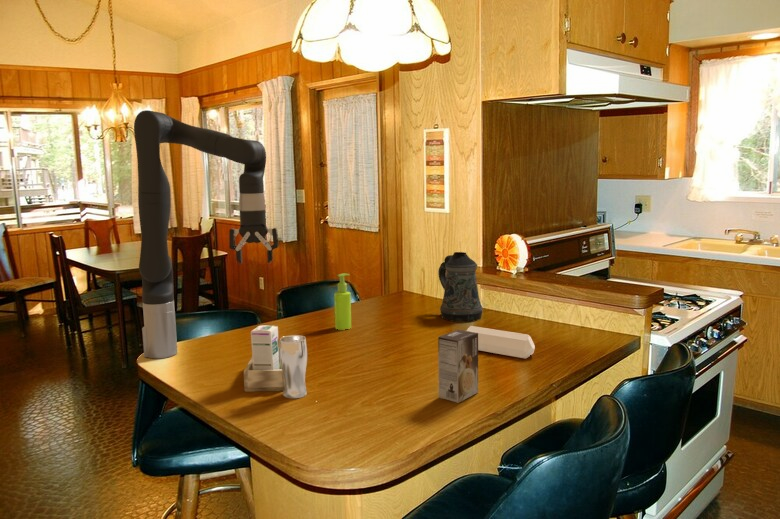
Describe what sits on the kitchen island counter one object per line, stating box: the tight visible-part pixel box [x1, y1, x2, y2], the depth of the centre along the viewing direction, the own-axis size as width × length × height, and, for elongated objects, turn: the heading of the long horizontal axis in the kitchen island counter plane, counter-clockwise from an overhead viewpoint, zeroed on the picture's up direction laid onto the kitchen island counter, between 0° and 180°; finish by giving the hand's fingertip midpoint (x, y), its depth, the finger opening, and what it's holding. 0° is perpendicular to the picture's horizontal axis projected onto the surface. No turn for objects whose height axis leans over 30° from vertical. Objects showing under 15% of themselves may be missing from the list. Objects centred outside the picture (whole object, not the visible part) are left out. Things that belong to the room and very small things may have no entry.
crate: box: [243, 347, 284, 393], centre depth 169 cm, size 11×20×6 cm, turn 3°
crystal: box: [465, 325, 536, 359], centre depth 191 cm, size 7×7×24 cm
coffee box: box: [437, 329, 479, 404], centre depth 153 cm, size 9×6×16 cm
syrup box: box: [250, 324, 280, 370], centre depth 163 cm, size 6×6×14 cm
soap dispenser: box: [333, 272, 352, 331], centre depth 220 cm, size 6×7×20 cm
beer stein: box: [437, 251, 484, 322], centre depth 234 cm, size 16×19×25 cm
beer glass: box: [279, 334, 308, 400], centre depth 155 cm, size 7×7×15 cm
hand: (255, 262), depth 181 cm, fingers open, 8 cm apart
